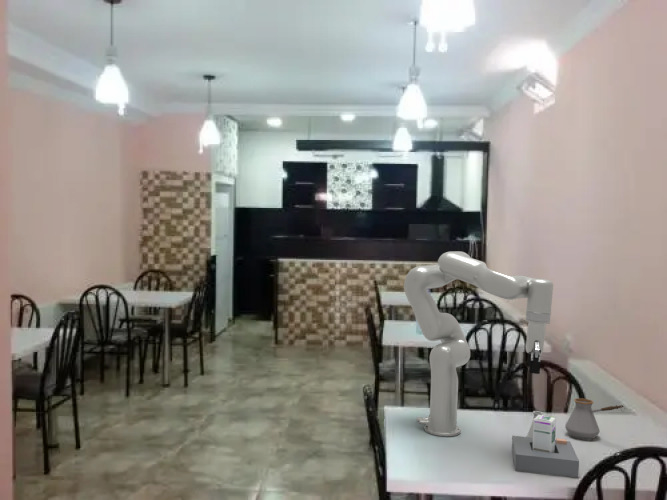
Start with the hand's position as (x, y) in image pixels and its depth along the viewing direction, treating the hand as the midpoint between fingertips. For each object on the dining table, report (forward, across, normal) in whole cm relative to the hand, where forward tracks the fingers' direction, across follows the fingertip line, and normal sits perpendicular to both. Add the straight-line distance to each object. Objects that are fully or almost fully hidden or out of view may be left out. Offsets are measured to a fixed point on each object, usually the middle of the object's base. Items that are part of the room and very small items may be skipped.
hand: (533, 369), depth 208 cm
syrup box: (+28, +8, +5) cm, 29 cm away
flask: (+28, -14, +4) cm, 31 cm away
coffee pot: (+27, -22, +24) cm, 42 cm away
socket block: (+27, +8, +5) cm, 29 cm away
